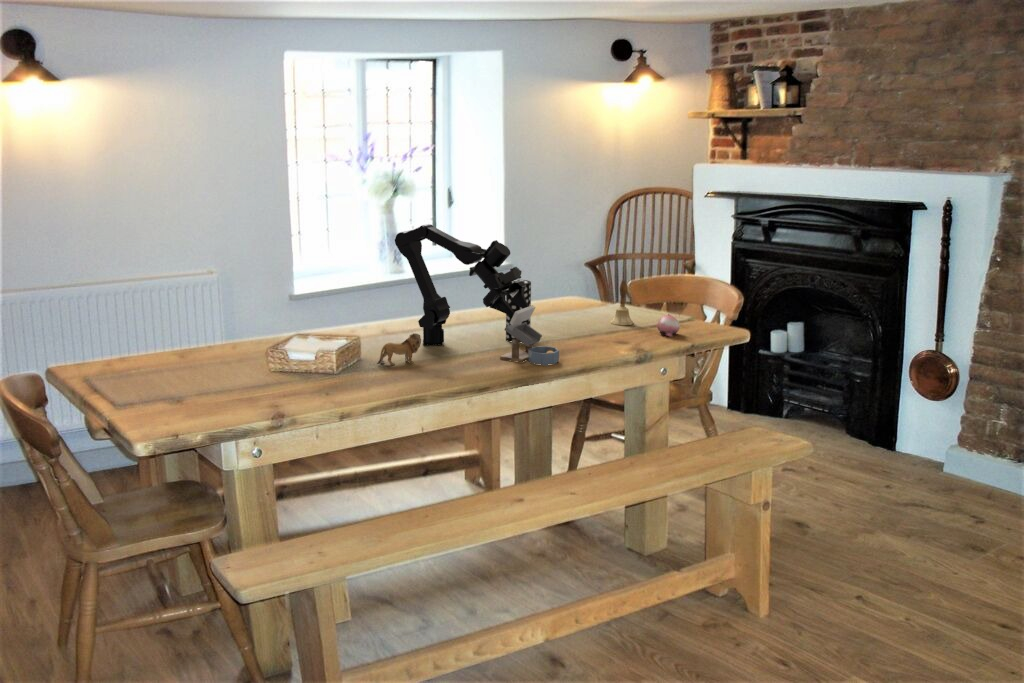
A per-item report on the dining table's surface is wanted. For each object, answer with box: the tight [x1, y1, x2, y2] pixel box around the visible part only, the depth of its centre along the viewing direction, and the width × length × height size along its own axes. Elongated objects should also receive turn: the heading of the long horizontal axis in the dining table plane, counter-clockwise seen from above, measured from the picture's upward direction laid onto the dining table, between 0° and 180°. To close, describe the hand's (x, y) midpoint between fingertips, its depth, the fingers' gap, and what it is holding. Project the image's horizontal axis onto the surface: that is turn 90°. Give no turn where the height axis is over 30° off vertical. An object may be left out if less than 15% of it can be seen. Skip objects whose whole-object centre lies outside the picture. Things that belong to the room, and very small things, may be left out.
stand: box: [499, 339, 533, 363], centre depth 345 cm, size 8×11×7 cm
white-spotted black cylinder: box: [505, 279, 532, 342], centre depth 366 cm, size 8×8×20 cm
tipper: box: [503, 304, 543, 347], centre depth 342 cm, size 10×11×8 cm
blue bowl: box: [527, 345, 560, 366], centre depth 341 cm, size 9×9×4 cm
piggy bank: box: [656, 313, 681, 338], centre depth 377 cm, size 8×8×7 cm
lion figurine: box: [376, 332, 422, 366], centre depth 337 cm, size 15×5×9 cm, turn 117°
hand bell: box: [610, 279, 634, 326], centre depth 392 cm, size 8×8×16 cm
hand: (521, 313), depth 342 cm, fingers open, 9 cm apart
